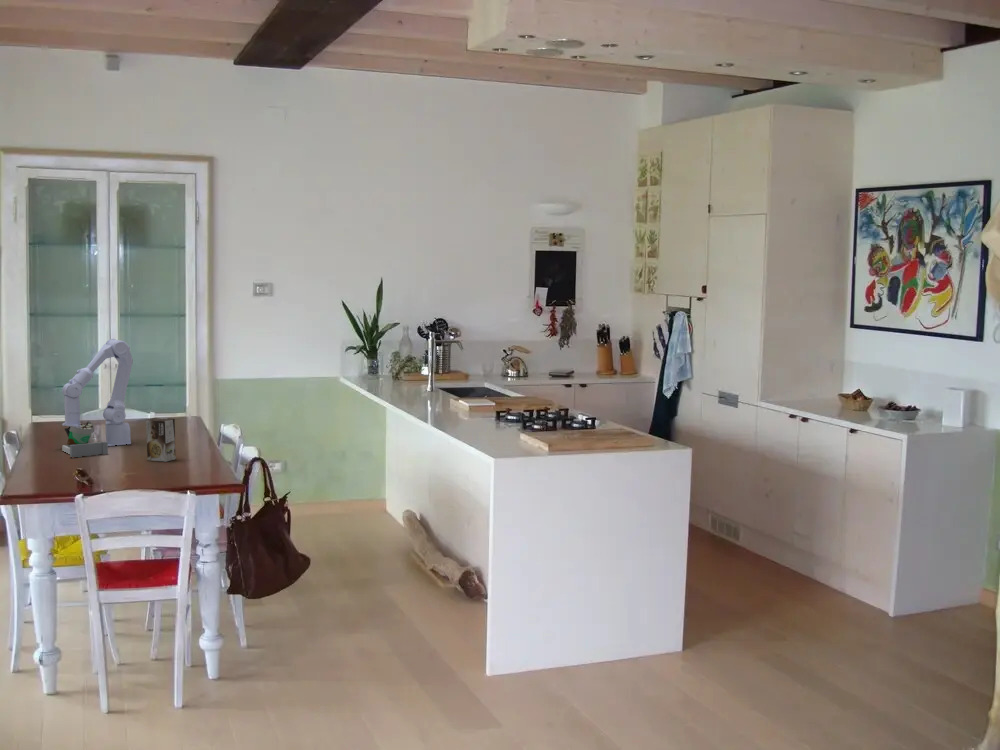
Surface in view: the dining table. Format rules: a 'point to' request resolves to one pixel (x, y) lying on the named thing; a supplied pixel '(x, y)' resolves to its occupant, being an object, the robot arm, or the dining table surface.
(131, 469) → the dining table surface
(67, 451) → the grey flat tray
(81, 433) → the food container
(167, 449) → the coffee box
